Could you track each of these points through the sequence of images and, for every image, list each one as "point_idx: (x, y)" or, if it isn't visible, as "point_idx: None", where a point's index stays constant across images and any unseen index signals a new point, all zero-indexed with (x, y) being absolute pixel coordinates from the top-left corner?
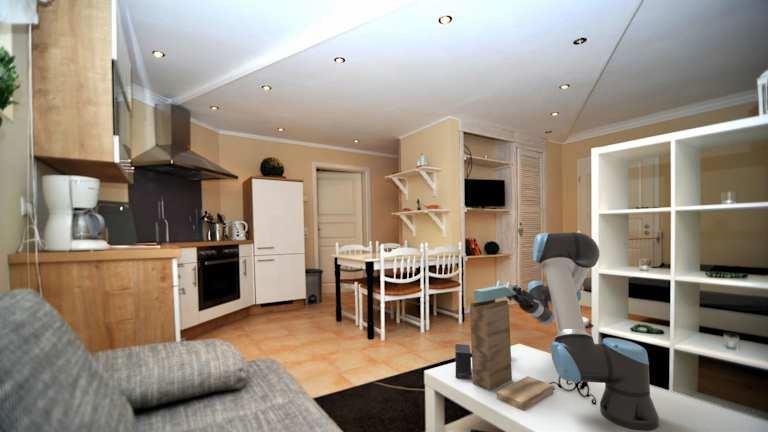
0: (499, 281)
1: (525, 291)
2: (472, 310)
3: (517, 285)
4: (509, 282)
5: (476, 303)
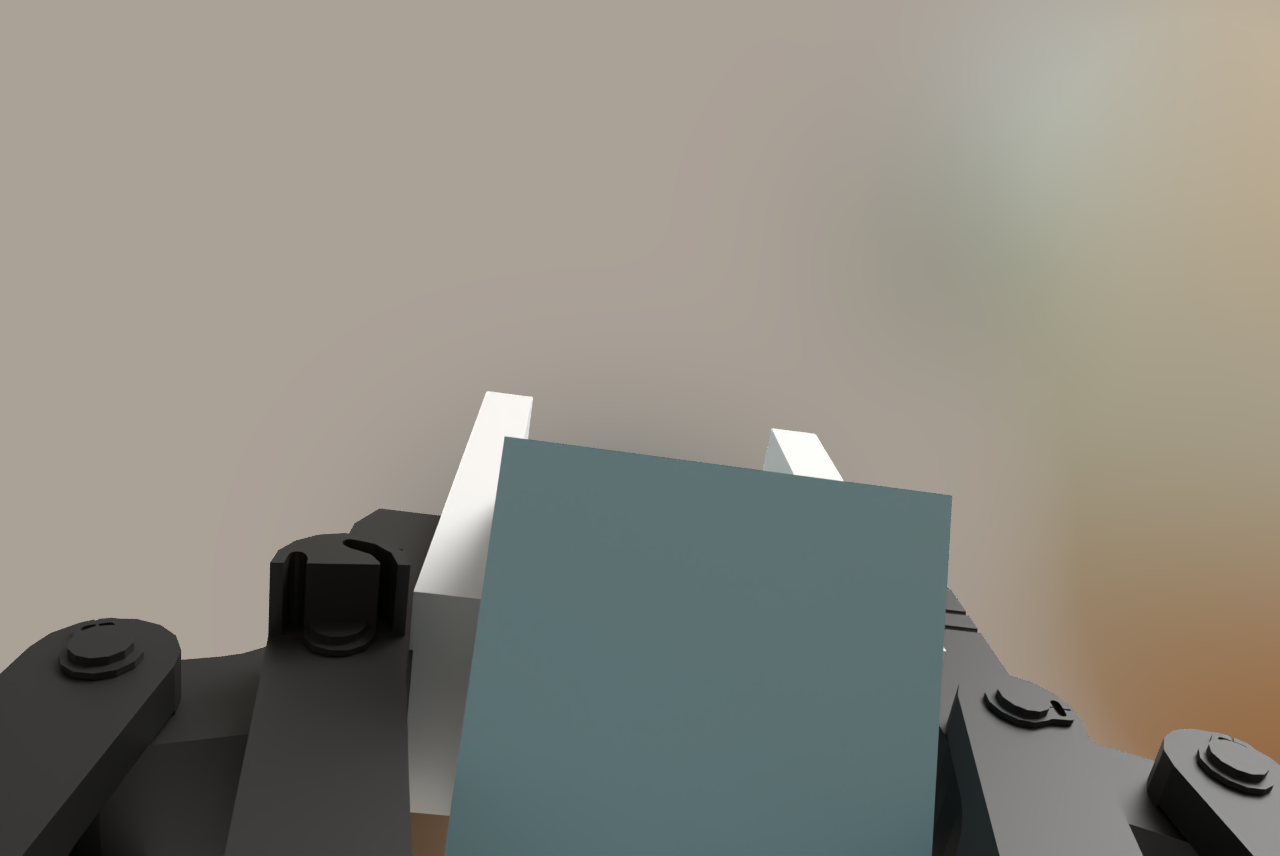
0: (772, 443)
1: (26, 678)
2: None
3: (499, 489)
4: (484, 402)
5: None
